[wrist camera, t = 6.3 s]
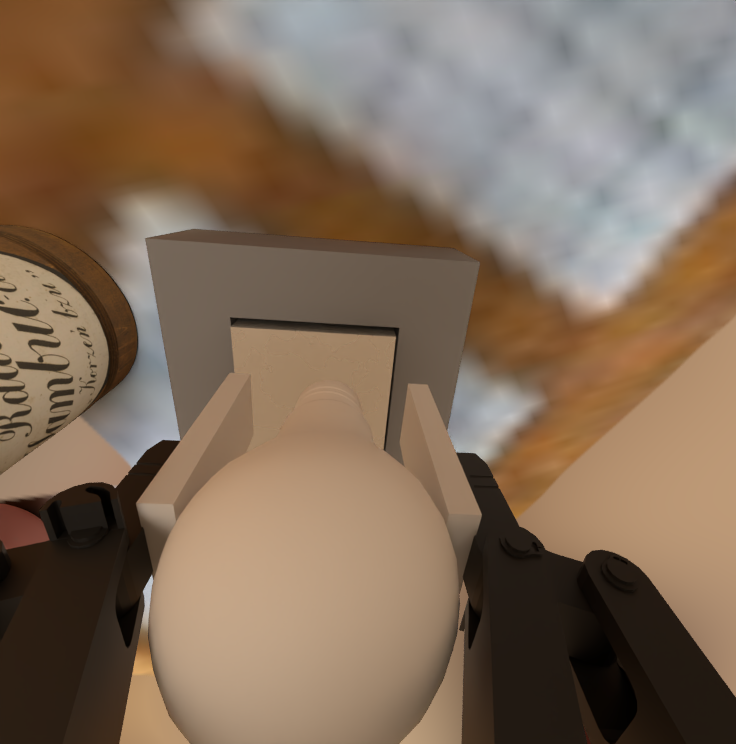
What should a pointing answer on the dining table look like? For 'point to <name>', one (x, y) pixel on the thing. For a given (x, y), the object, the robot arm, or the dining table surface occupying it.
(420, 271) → the socket block
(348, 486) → the lightbulb
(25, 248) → the wooden container
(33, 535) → the balloon
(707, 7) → the dining table surface
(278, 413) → the tan square tile
